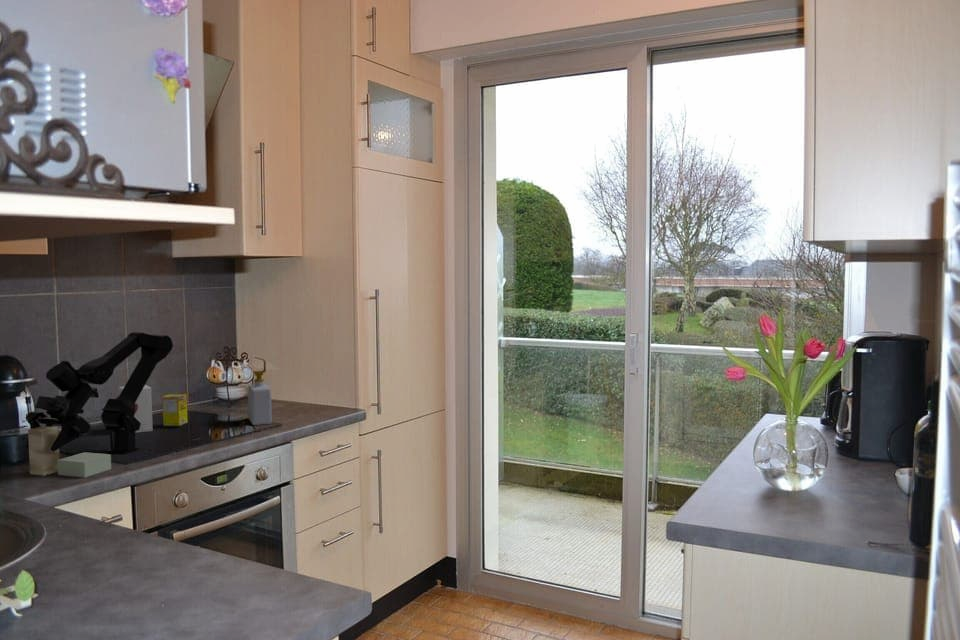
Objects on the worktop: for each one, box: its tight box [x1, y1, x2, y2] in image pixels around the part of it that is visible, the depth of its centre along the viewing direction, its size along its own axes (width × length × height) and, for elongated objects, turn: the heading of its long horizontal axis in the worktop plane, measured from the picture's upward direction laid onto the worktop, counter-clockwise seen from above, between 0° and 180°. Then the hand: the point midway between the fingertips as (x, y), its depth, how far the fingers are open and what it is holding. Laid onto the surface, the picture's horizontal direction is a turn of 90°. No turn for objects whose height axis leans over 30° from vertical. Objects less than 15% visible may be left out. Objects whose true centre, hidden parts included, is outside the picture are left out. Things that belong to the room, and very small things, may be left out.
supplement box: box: [162, 393, 189, 429], centre depth 263 cm, size 6×6×11 cm
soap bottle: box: [247, 356, 273, 426], centre depth 270 cm, size 12×7×23 cm, turn 24°
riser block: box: [57, 451, 112, 478], centre depth 204 cm, size 9×9×4 cm
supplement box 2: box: [117, 384, 153, 434], centre depth 256 cm, size 9×9×15 cm
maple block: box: [27, 426, 61, 476], centre depth 203 cm, size 5×5×12 cm
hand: (39, 449), depth 202 cm, fingers open, 9 cm apart
